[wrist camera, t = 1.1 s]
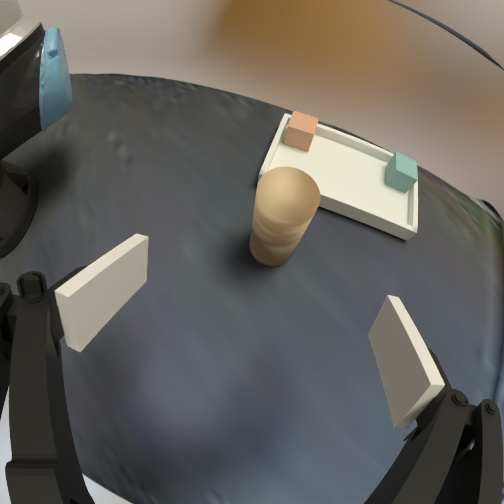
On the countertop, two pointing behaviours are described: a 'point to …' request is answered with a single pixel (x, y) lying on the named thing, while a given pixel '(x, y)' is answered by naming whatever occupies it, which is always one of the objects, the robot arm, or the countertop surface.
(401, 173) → the teal block
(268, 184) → the turned wooden pepper mill
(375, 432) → the countertop surface
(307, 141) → the terracotta block
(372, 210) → the parts tray
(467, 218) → the countertop surface
